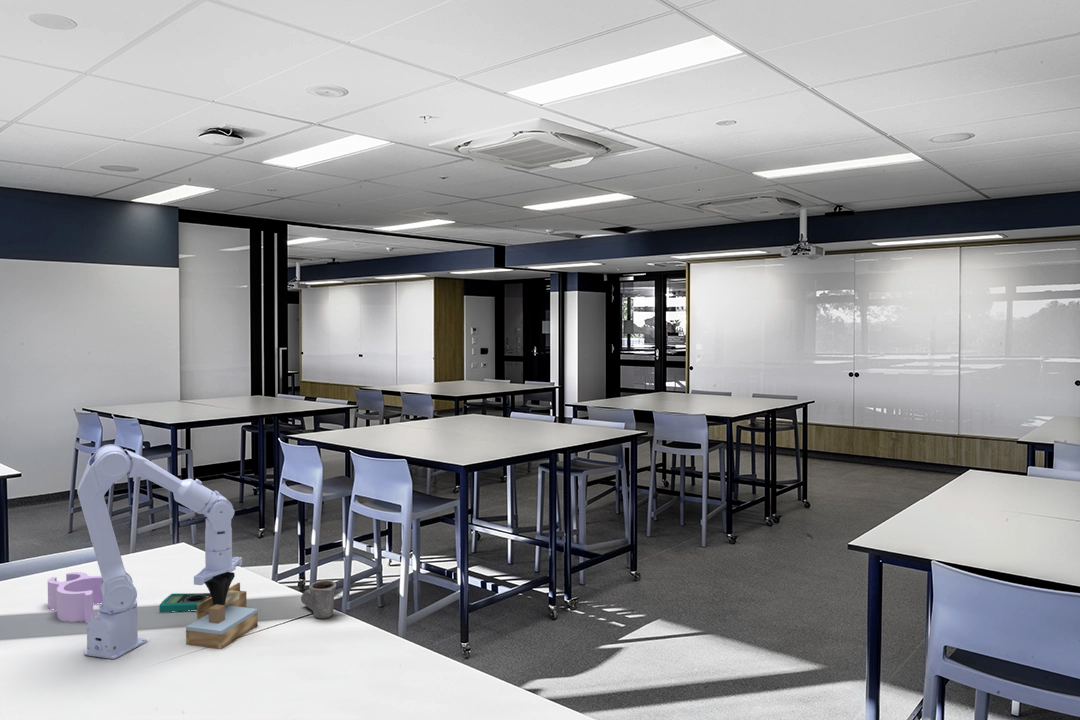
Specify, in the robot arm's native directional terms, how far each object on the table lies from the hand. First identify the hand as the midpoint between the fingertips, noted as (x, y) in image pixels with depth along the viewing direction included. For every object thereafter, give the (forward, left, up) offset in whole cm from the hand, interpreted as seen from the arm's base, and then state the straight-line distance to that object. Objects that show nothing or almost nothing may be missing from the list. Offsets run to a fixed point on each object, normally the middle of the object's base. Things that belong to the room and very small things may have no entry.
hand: (219, 605), depth 173 cm
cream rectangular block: (+4, 0, -1) cm, 4 cm away
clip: (0, +39, -6) cm, 39 cm away
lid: (-4, -4, -3) cm, 6 cm away
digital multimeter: (+9, +14, -6) cm, 17 cm away
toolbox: (0, -3, -5) cm, 6 cm away
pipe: (+13, -18, -5) cm, 23 cm away
